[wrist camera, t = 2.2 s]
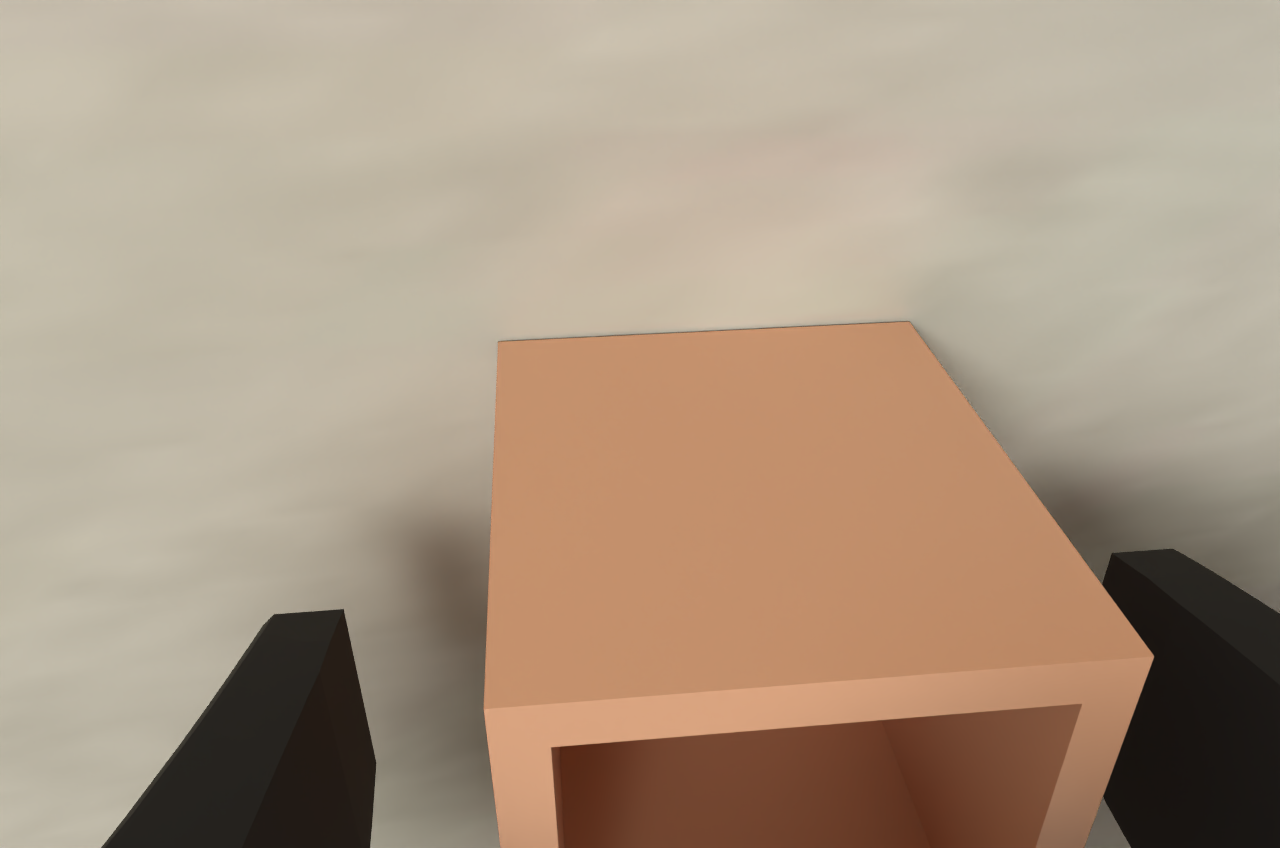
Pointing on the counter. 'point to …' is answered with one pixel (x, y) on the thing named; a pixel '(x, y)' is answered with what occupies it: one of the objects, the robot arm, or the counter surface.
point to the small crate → (784, 605)
